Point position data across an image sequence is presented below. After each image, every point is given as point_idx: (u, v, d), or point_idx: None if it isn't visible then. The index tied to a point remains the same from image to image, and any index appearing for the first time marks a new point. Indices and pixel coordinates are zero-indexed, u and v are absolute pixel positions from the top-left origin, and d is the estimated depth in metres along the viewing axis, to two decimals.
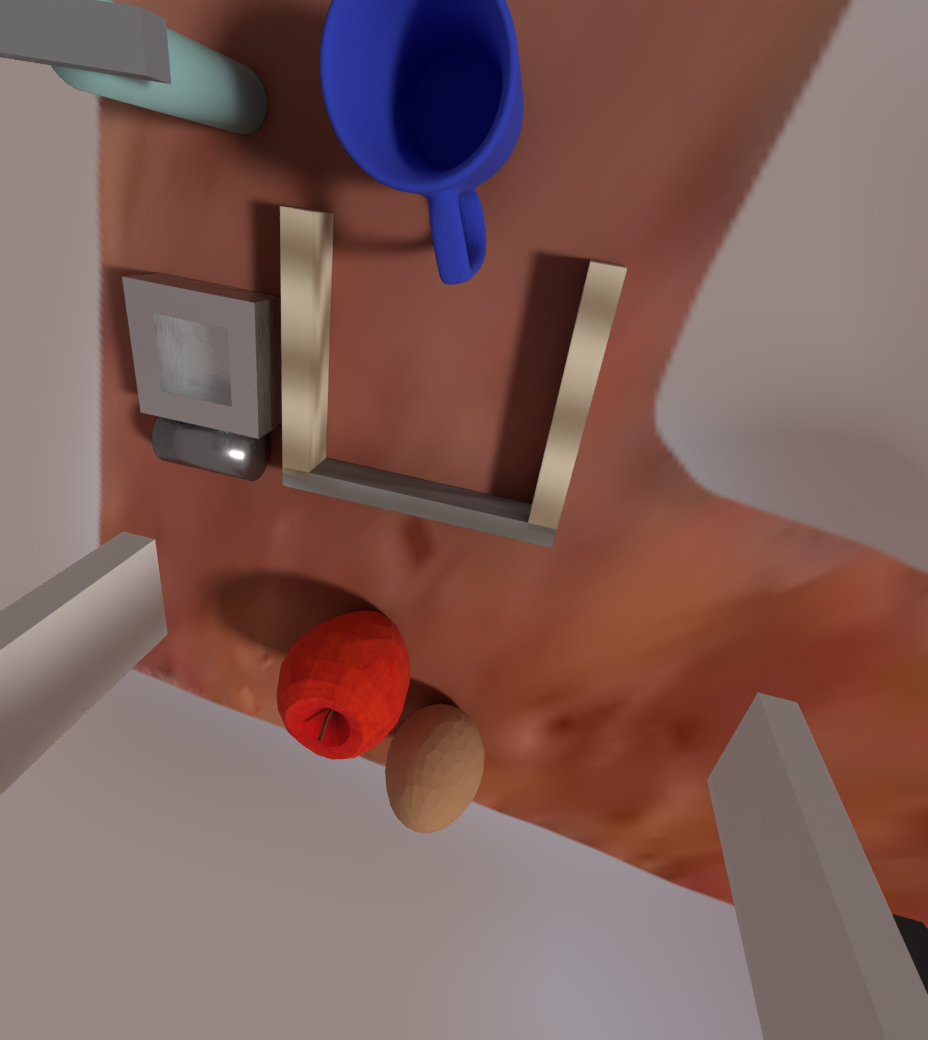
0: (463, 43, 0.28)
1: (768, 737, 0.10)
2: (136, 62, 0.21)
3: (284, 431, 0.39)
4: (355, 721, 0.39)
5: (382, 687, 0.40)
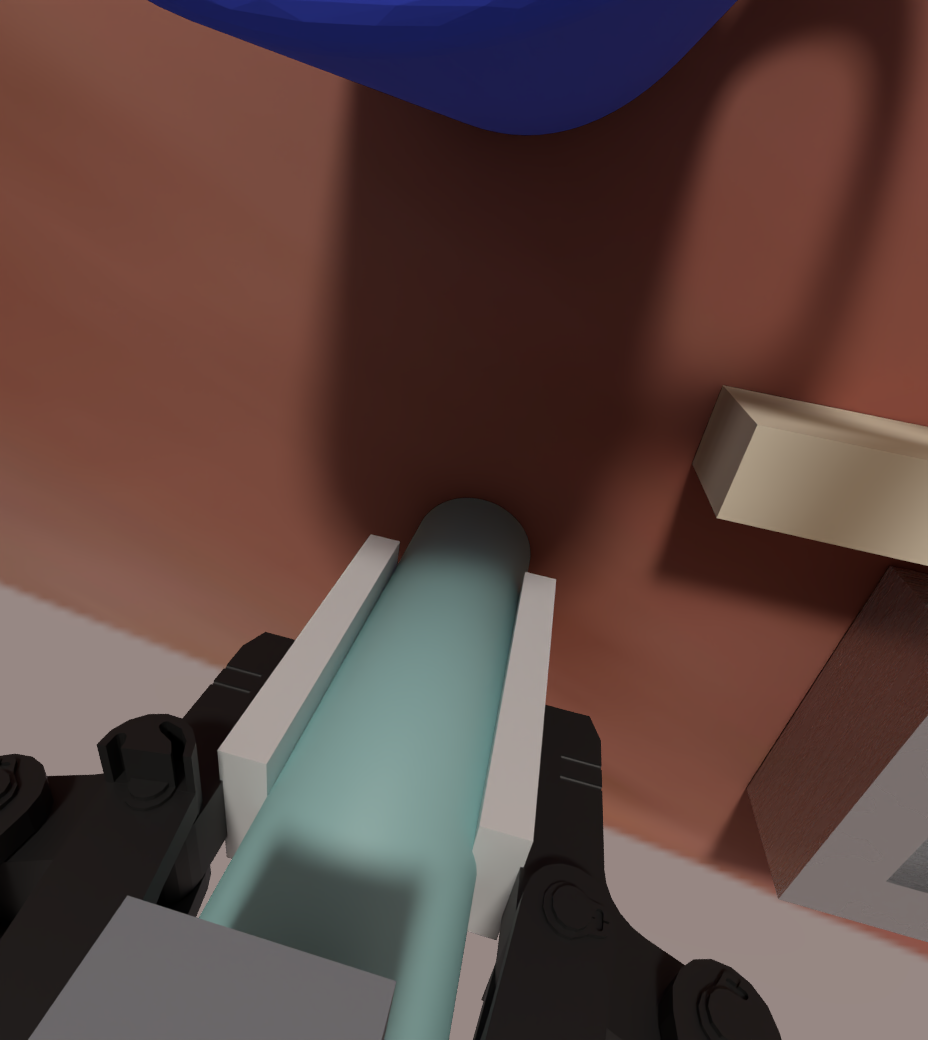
0: None
1: (519, 600, 0.13)
2: None
3: None
4: None
5: None
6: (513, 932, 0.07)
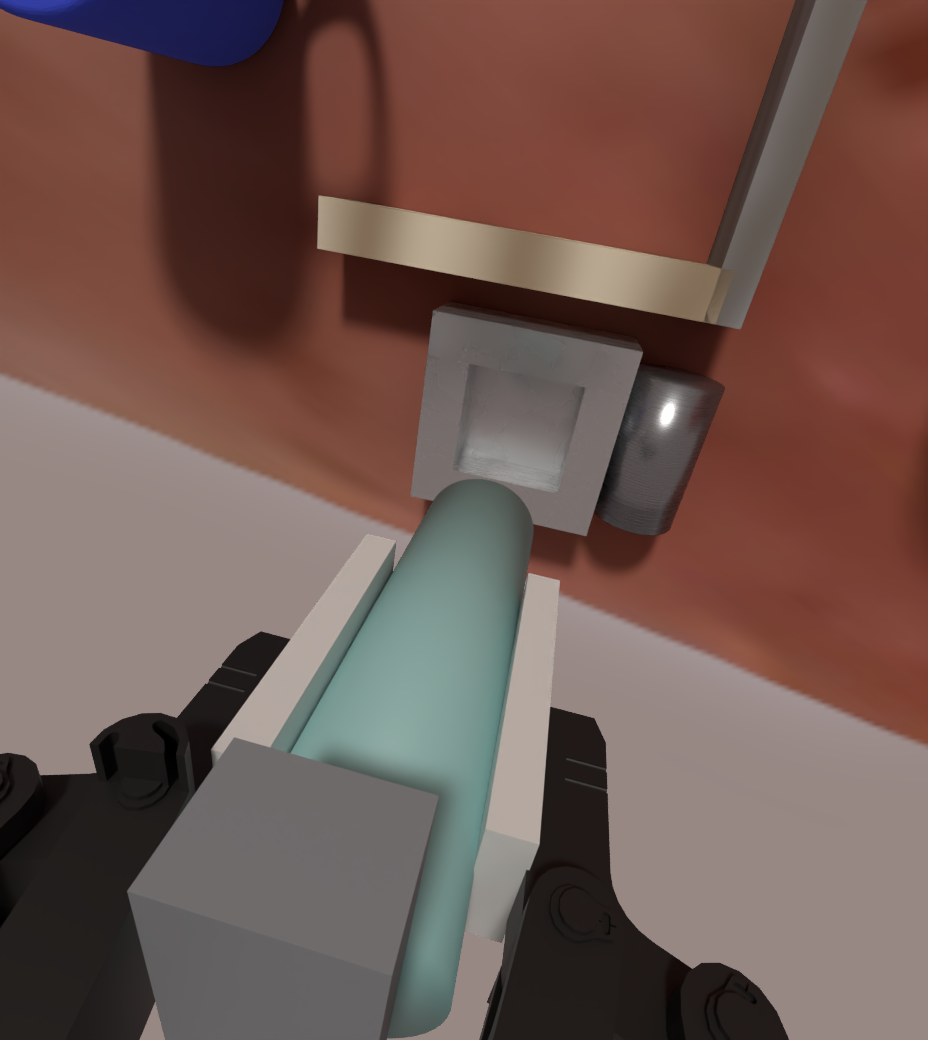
0: None
1: (523, 602, 0.12)
2: (340, 986, 0.04)
3: (636, 304, 0.23)
4: None
5: None
6: (520, 935, 0.07)
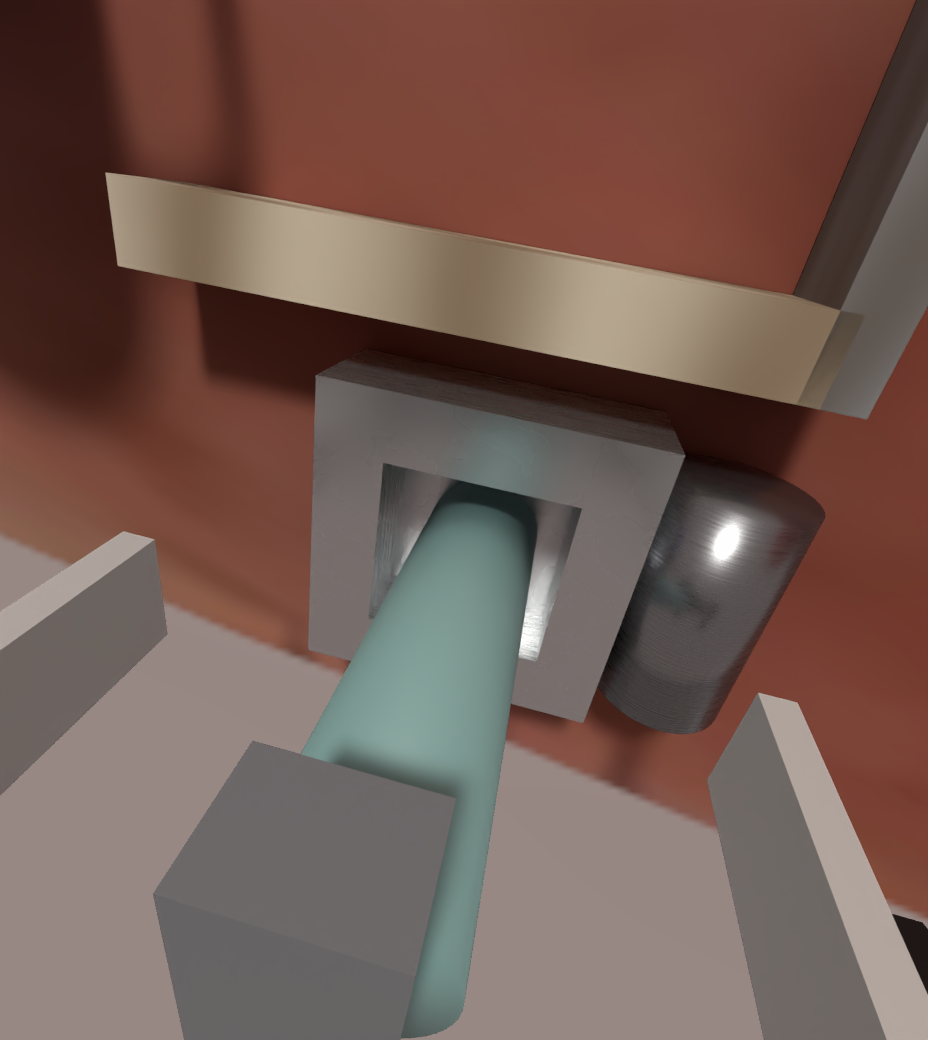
0: None
1: (768, 737, 0.10)
2: (363, 986, 0.04)
3: (674, 371, 0.12)
4: None
5: None
6: None
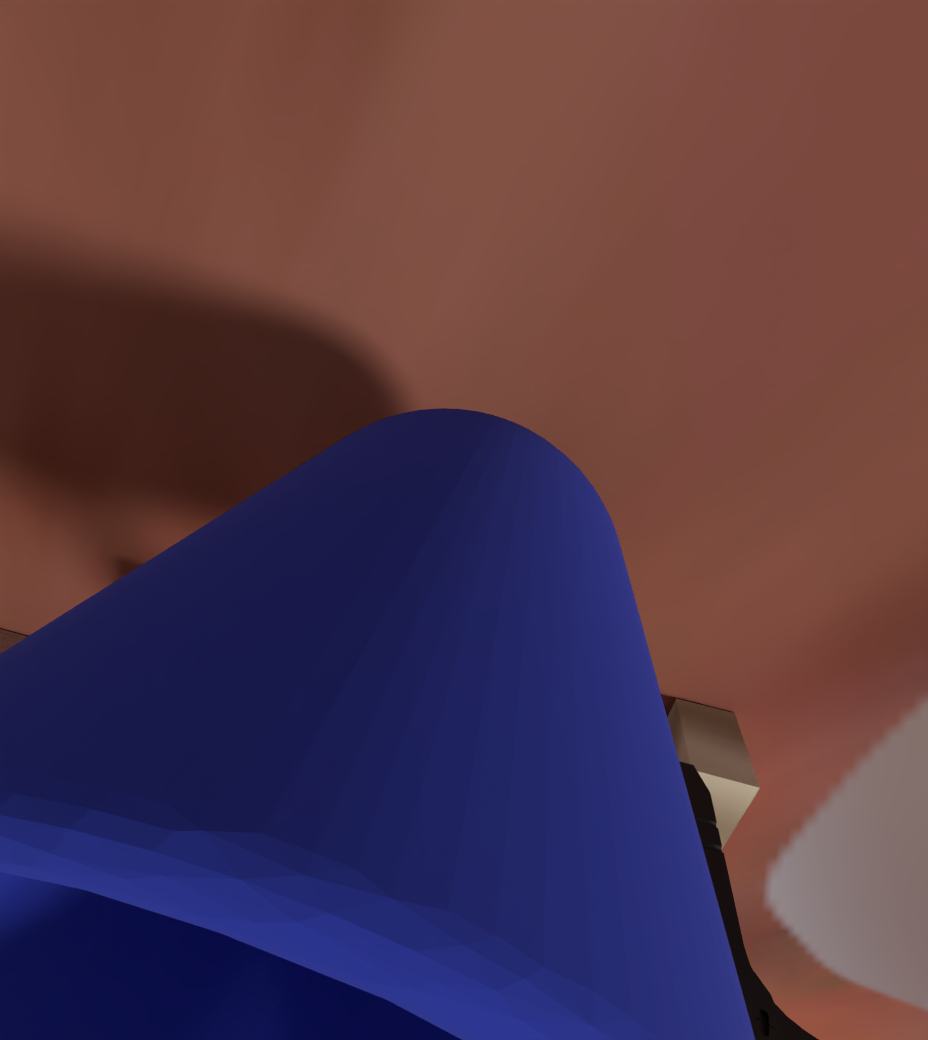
0: None
1: None
2: None
3: None
4: None
5: None
6: None
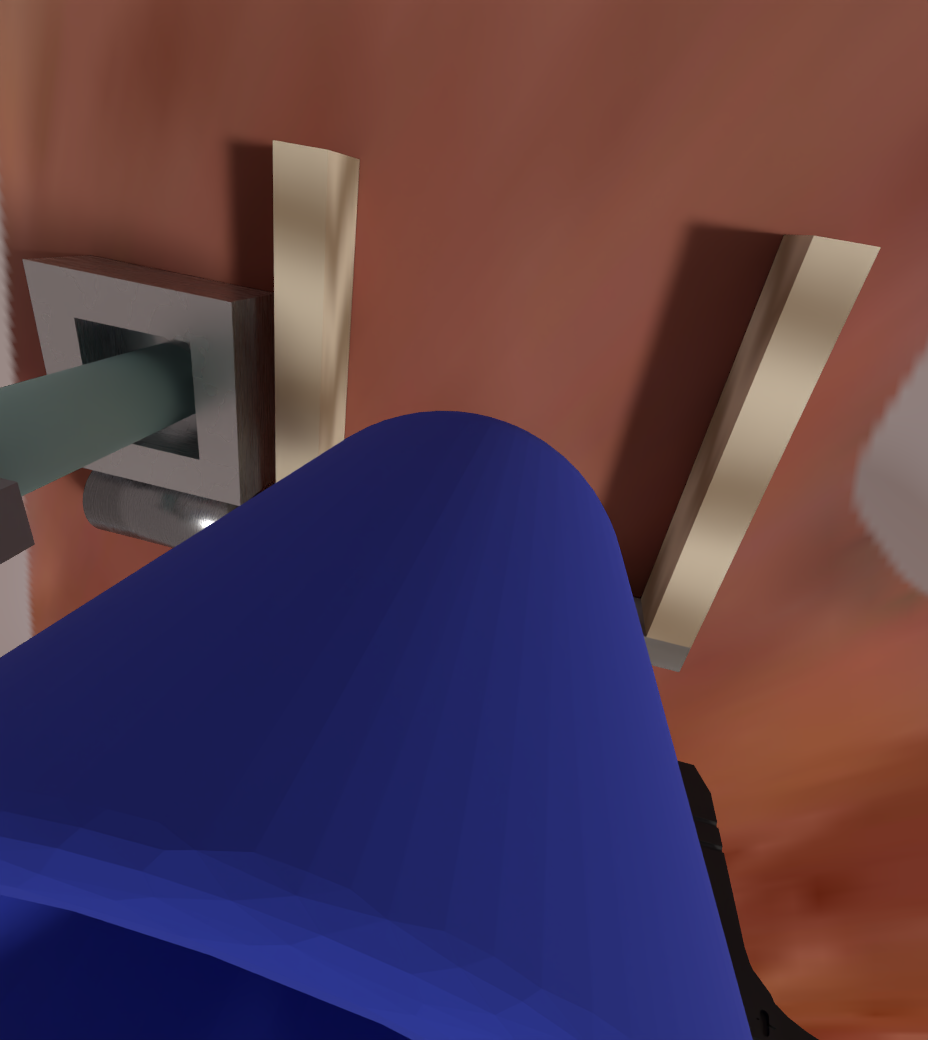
0: None
1: None
2: None
3: None
4: None
5: None
6: None
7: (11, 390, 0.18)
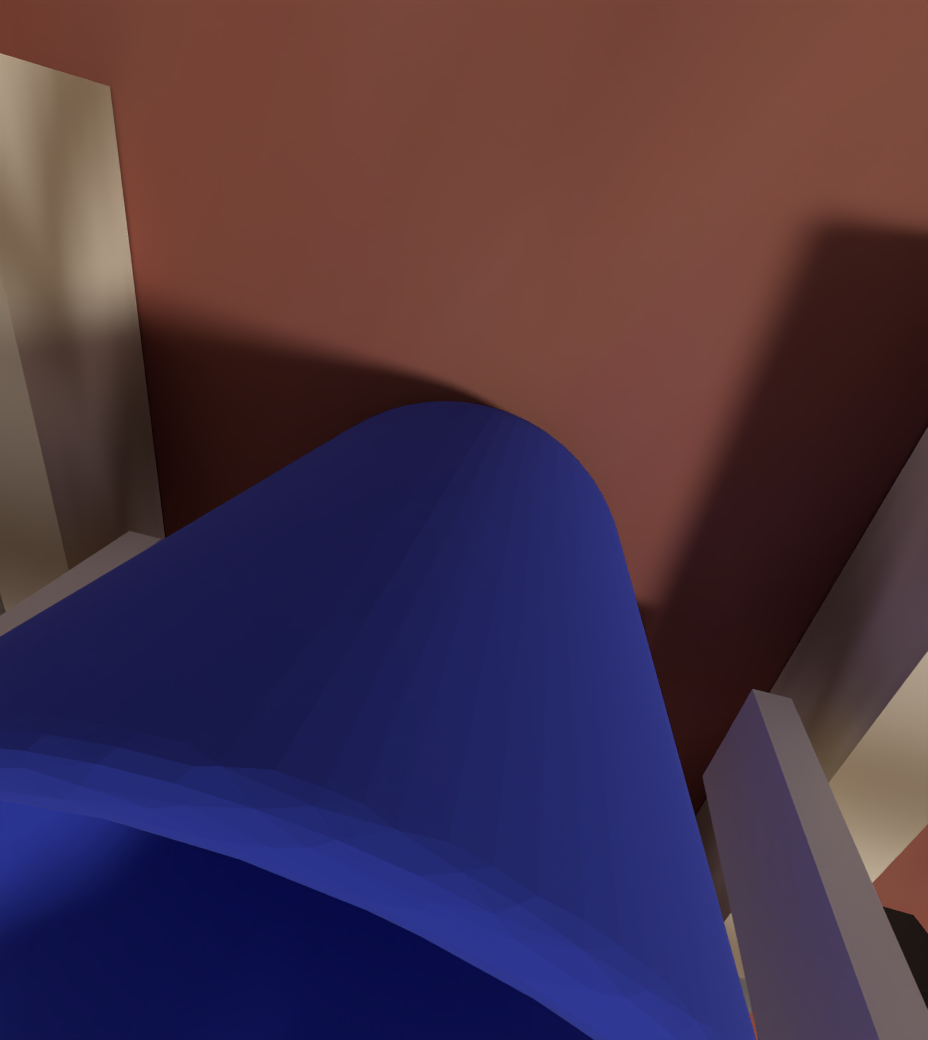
0: None
1: (762, 733, 0.10)
2: None
3: None
4: None
5: None
6: None
7: None
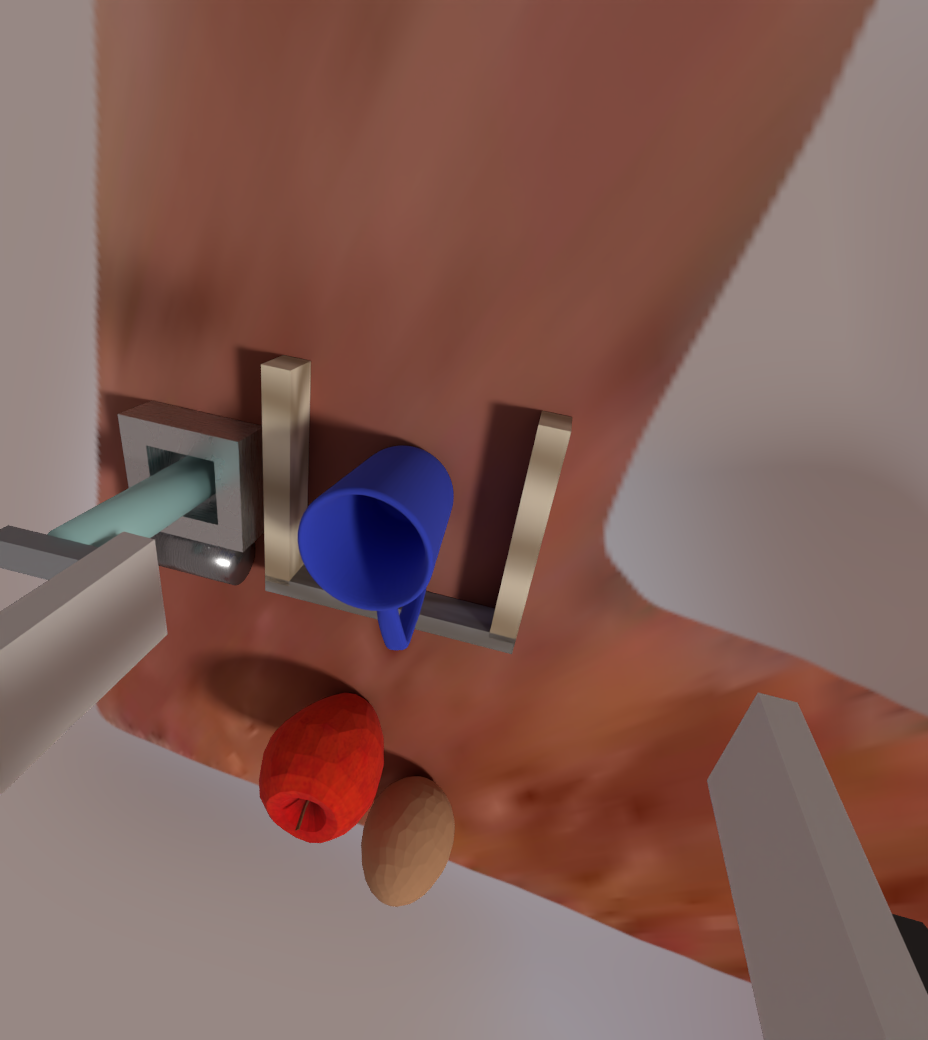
0: None
1: (768, 737, 0.10)
2: None
3: (266, 546, 0.42)
4: (330, 811, 0.42)
5: (355, 779, 0.43)
6: None
7: (118, 500, 0.35)
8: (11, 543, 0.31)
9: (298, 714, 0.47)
